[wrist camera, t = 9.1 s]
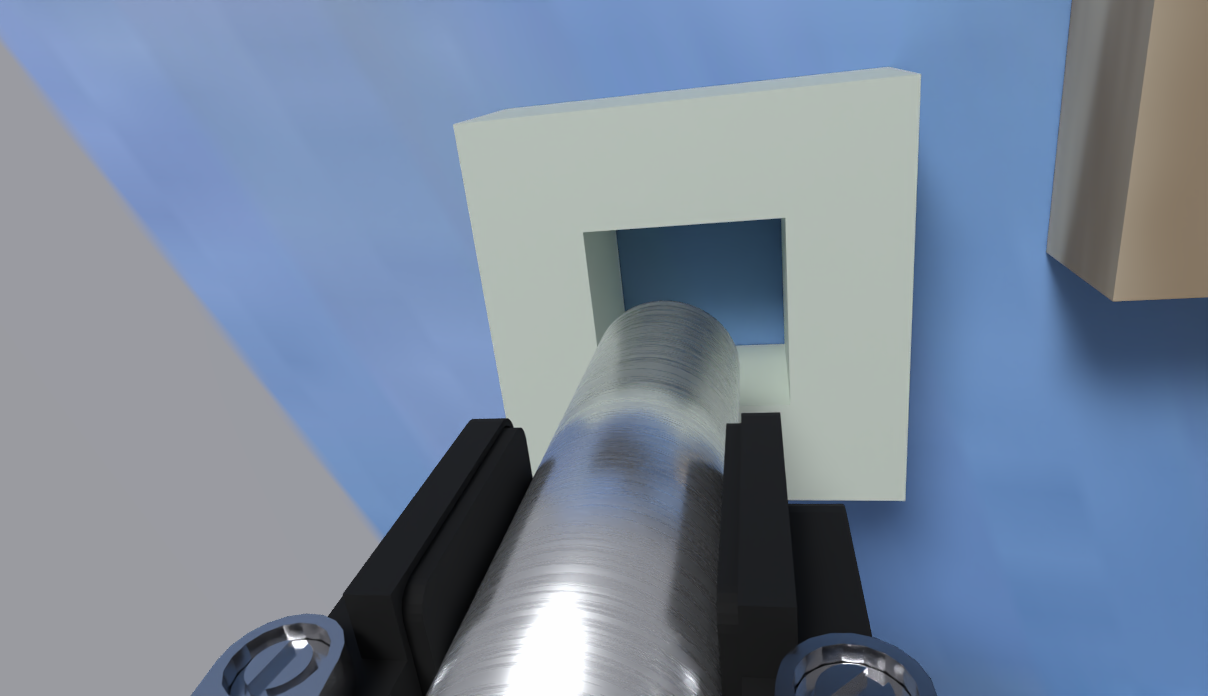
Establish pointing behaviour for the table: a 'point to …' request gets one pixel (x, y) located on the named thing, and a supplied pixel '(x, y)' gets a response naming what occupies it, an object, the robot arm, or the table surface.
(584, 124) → the sage socket block
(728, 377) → the metal pin
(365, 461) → the table surface
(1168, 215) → the birch mount block
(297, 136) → the table surface
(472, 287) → the table surface
